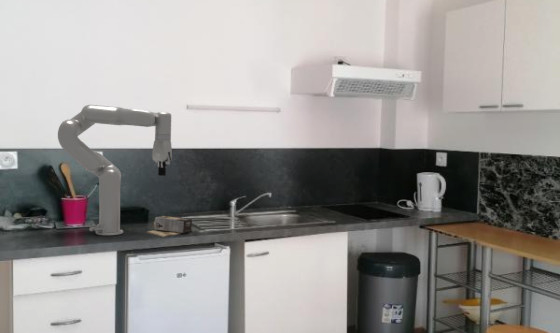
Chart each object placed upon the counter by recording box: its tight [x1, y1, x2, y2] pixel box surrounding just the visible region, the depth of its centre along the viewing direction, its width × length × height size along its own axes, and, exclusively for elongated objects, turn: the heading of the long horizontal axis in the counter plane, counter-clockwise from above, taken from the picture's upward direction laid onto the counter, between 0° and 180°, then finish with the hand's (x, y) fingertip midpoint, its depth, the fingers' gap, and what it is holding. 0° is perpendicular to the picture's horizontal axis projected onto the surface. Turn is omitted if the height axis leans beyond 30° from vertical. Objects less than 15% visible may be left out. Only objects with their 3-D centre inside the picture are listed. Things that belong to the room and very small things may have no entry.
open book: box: [146, 229, 182, 238], centre depth 259 cm, size 11×13×1 cm
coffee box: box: [154, 215, 193, 234], centre depth 264 cm, size 9×6×16 cm
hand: (161, 175), depth 258 cm, fingers closed
